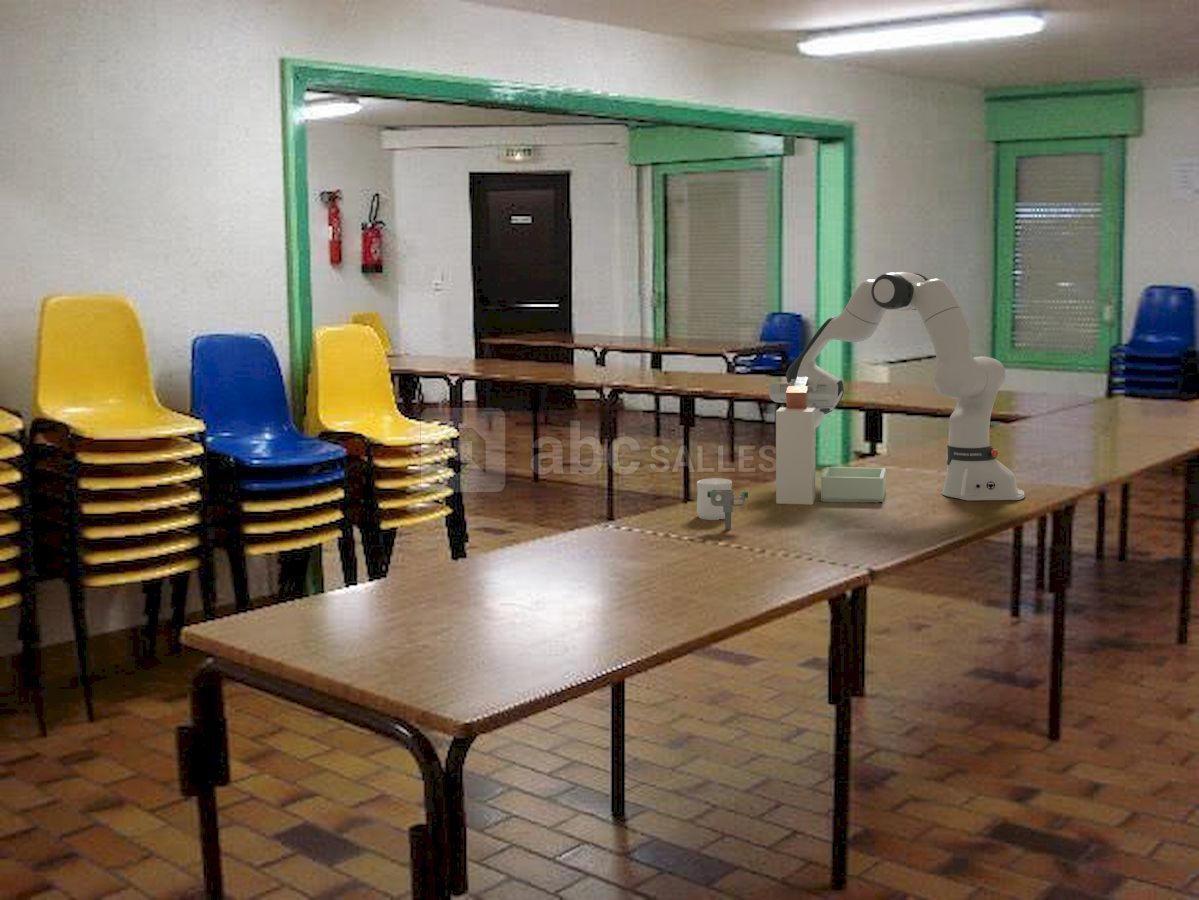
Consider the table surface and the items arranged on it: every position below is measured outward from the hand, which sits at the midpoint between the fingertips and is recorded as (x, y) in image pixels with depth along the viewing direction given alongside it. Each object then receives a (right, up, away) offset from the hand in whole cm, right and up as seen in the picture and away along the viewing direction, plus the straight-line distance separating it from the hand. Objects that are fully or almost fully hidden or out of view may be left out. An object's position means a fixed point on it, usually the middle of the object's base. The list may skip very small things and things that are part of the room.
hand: (801, 381), depth 383 cm
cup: (-28, -38, -29) cm, 55 cm away
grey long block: (-1, -5, -4) cm, 7 cm away
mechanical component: (-26, -40, -44) cm, 65 cm away
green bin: (+14, -33, -6) cm, 36 cm away
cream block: (-3, -34, -10) cm, 36 cm away
